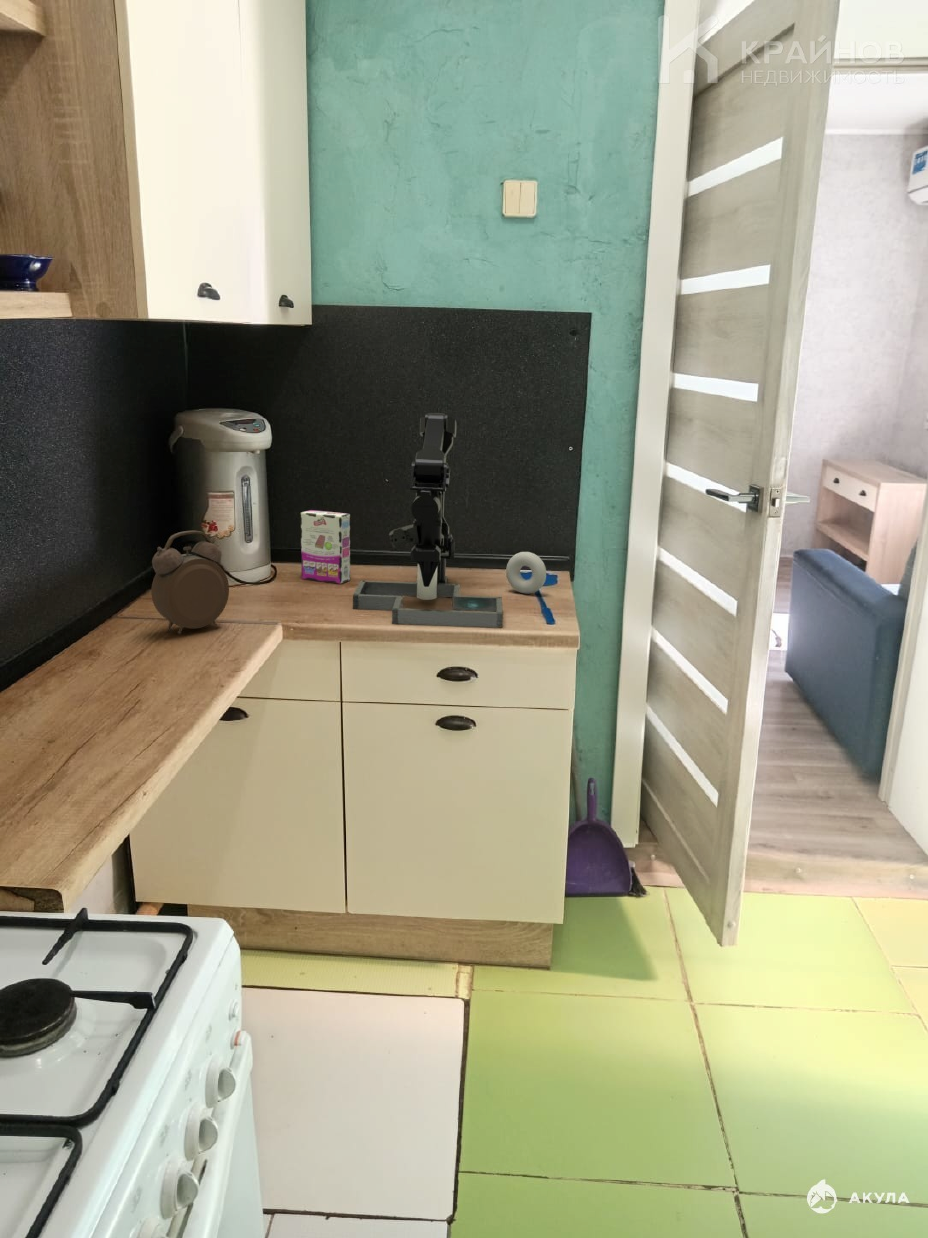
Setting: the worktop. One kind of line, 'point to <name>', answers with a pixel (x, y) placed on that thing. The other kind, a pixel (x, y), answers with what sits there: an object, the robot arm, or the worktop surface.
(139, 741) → the worktop surface
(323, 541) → the candy bar box
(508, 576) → the donut
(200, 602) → the alarm clock
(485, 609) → the channel
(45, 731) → the worktop surface
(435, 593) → the peg
